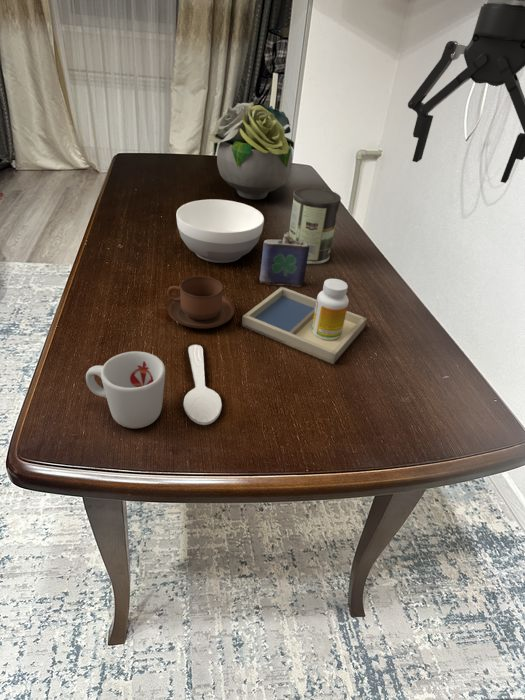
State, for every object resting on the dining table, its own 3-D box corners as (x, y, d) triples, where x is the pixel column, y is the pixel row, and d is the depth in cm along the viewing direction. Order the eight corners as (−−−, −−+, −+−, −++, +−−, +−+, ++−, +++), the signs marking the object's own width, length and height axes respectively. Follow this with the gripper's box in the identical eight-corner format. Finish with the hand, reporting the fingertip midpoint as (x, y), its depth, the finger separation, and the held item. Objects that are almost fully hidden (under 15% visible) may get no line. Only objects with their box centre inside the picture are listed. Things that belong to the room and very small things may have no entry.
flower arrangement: (196, 184, 147) (197, 93, 132) (269, 179, 157) (277, 94, 143) (231, 214, 130) (237, 114, 115) (310, 206, 140) (324, 113, 126)
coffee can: (319, 244, 119) (330, 186, 111) (336, 263, 111) (348, 202, 103) (279, 245, 116) (287, 186, 108) (294, 265, 109) (303, 203, 100)
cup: (75, 422, 65) (67, 376, 60) (105, 385, 71) (99, 341, 66) (152, 442, 63) (149, 395, 59) (175, 402, 70) (174, 358, 65)
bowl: (245, 233, 121) (248, 198, 115) (272, 268, 107) (277, 230, 102) (168, 237, 114) (168, 200, 109) (187, 275, 100) (187, 235, 95)
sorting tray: (364, 327, 91) (366, 318, 89) (333, 364, 80) (335, 354, 79) (280, 295, 97) (281, 286, 96) (241, 326, 87) (242, 316, 86)
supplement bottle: (347, 337, 86) (358, 288, 81) (322, 343, 84) (332, 294, 78) (329, 321, 90) (339, 274, 84) (305, 327, 88) (313, 279, 82)
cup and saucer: (168, 336, 82) (167, 304, 79) (165, 299, 92) (165, 270, 88) (239, 333, 85) (241, 303, 81) (229, 298, 94) (231, 269, 91)
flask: (259, 284, 100) (264, 234, 94) (259, 277, 103) (264, 228, 96) (304, 287, 101) (312, 238, 95) (302, 280, 103) (310, 232, 97)
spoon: (211, 346, 81) (211, 343, 81) (224, 423, 67) (224, 420, 67) (178, 347, 80) (178, 344, 80) (185, 426, 66) (185, 423, 66)
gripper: (619, 15, 62) (546, 184, 74) (427, -4, 71) (391, 148, 84) (620, 14, 57) (541, 195, 69) (411, -8, 66) (375, 156, 78)
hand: (459, 170), depth 76 cm, fingers open, 13 cm apart
